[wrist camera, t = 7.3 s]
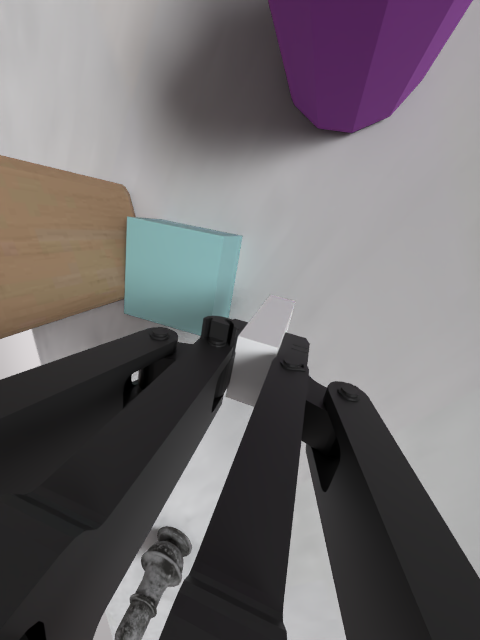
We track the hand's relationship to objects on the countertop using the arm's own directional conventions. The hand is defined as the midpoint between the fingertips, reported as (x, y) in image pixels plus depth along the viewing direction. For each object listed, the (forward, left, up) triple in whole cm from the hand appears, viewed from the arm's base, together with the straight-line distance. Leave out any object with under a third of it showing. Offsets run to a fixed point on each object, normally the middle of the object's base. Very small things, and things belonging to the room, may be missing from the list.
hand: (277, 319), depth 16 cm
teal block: (0, -9, -9) cm, 13 cm away
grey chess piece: (+39, -7, -9) cm, 40 cm away
